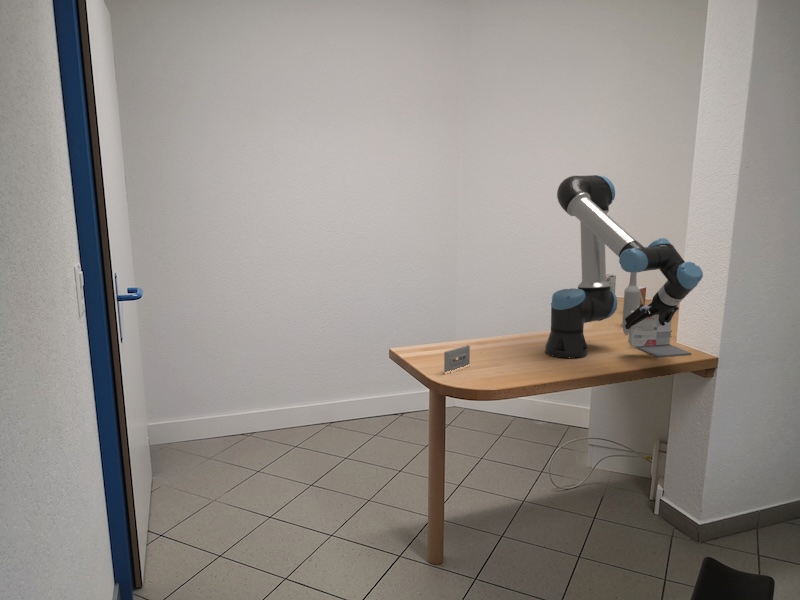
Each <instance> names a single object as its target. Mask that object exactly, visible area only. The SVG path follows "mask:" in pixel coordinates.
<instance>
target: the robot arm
mask: <svg viewBox="0 0 800 600" xmlns="http://www.w3.org/2000/svg"><path fill="white" fill-rule="evenodd" d="M556 196H557V197H556V198H557V202H558V203H559V206H560V207H561V208H562V209H563V211H564V212H565V213H567V214H568V215H569V216H571V217H575V218H576V219H577V220H579V222H580V255H581V256H580V257H581V259H580V260H581V282H580V283H579V284H578V285H577V288H563V289H560V290H557V291H555V292H554V293H553V294H552V296H551V303H550V305H551V306H550V307H551V309H550V311H551V312H550V332H549V335H548V338H547V340H546V343H545V346H544V347H545V348H544V352H545V354H547V353H548V354H550V355H549V356H551V355H553V356H552V357H554V356H557V357H556V358H560V357H567V358H566V359H576V358H575V357H581V358H584V357H587V355H588V345H587V342H586V338H585V334H584V324H586V323H592V322H597V321H598V322H601V321H604V320H607V319H609V318H611V317H612V316H614V314H615V313H616V311H617V307H618V298H617V295H616V294H615V295H614V292H613V291H612V290H610V284H609V283H608V282H607V281H606V275H607V273H606V272H607V270H606V268H607V267H606V262H607V261H606V247H608V248H609V249H610V250H611V251H612V252H613V253H614V254H615V255H616V256H617V258H618V257H619V258H618V263H619V264H620V268H621V269H622V270H623V271H625V272H627V273H631V272H635V273H636V272H637V273H641V272H647V271H656V270H657V271H658V270H659V271H660V272H661V273H662V275H663V276H664V277H665V278H666V282H665V283H664V284H663V285H662V286H661V287H660V288H659V290H658V291H657V292H656V293H655V294H654V295H653V296H652V300H651V302H650V303H649V304H648V305H645V306H644V305H643V304H642V305H640V306H639V308H638V309H636V310H635V311H634V312H633V313H631V314H630V315H629V316H628V317H626V318H625V321H626V323H627V324H626V325H625V327H622V332H623V334H624V335H625V336H629V333H630V331H631V330H632V329H633V328H634V327H635V324H637V323H639V322H640V321H642V320H644V319H645V318H647V317H652V316H653V315H655V314H657V315H659V319H658V322H657V328H658V327H659V326H660V325H662V326H664V325H665V323H664V322H666V323H669V322H670V320H671V321H672V320H673V319H672V318H673V316H674V315H675V313H676V312H677V311H678V310H680V309H679V306H678V305H679V304H680V303H681V302H682V301H683V299H684V298H686V297H687V295H688V294H690V292H692V291H693V290H694V289H695V288H696V287H697V286H698V285H699V283H700V282H701V281H702V279H703V276H704V273H703V270H702V268H701V267H700V266H699V265H697V264H696V263H695V262H693V261H685V260H684V259H683V257H682V255H680V253H679V252H678V250H677V249H676V248H675V246H674V245H673V244H672V243H671V242H670V241H669V240H668V239H667V238H665V237H661V238H658V239H656V240H654V241H652V242H651V243H650V244H649V245H648V246H647V247H646V246H643V244H641V243H640V242H639V241H637V240H636V239H635V238H634V237H633V235H631V234H630V233H628V232H627V231H626V230H625V228H623V227H622V226H621V225H619V223H617V222H616V221H615V220H614V219H613V218H612V217H610V215H608V213H609V212H610V207H609V206H610V205H612V203H613V201H614V200H615V196H616V189H615V185H614V184H613V181H612V180H610V179H609V178H608V177H606V176H604V175H603V176H602V175H595V174H593V175H571V176H569V177H567V178H564V179H563V180H562V181H561V182H560V184H559V186H558V187H557V193H556ZM648 310H649V311H648ZM649 312H650V313H649ZM548 354H547V355H548ZM583 356H584V357H583ZM568 357H570V358H568Z"/></svg>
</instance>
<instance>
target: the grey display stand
mask: <svg viewBox="0 0 800 600" xmlns="http://www.w3.org/2000/svg"><path fill="white" fill-rule="evenodd" d="M638 308H639V306H637V309H638ZM648 311H649V310H648ZM658 319H659V315H658ZM664 323H665V325H664V326H662V325H660V326H659V327H658V328H657V335H656V346H634V348H635V349H637V350H640V351H642V352H644V353H646V352H647V353H646V354H648V353H649V354H648V355H650V354H651V356H652V355H653V357H655V358H668V357H667V356H669V357H677V356H678V357H679V356H692V352H690V351H687V350H685V349H682V348H680V347H677V346H675V345H673V344H671V338H672V332H673V331H672V330H671V329H672V319H671V320H670V322H669V323H666V322H664Z"/></svg>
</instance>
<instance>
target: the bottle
mask: <svg viewBox="0 0 800 600" xmlns="http://www.w3.org/2000/svg"><path fill="white" fill-rule="evenodd" d="M629 273H630V276H629V284H628V286H627V287H626V288H625V289H624V294H623V308H622V309H623V310H622V322H621V323H622V324H621V327H622V328H624V327H625V325H626V324H627V323H626V321H625V318H626V317H628V316H629V315H630V311H635V310H636V309H637V306H640V290H639V288H638V287H637V286H638V285H637V275H638V274H637V273H638V272H636V273H635V272H629Z"/></svg>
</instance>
